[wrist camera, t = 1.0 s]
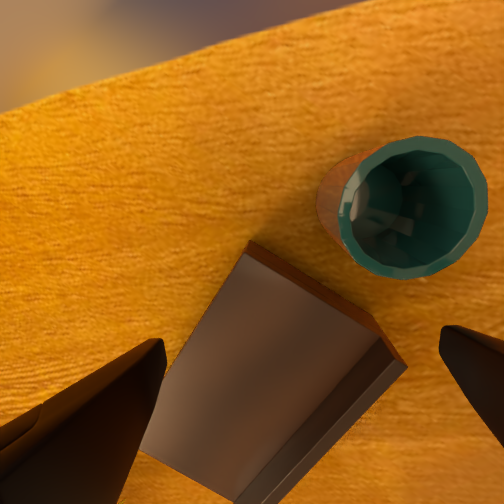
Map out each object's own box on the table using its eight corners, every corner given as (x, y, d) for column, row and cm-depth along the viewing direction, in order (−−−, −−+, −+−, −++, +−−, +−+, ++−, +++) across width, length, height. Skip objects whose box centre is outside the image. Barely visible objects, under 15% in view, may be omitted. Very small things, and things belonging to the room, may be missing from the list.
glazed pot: (426, 186, 20) (522, 189, 12) (368, 259, 21) (420, 303, 14) (351, 136, 19) (400, 105, 12) (298, 215, 21) (311, 233, 13)
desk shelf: (372, 315, 22) (408, 367, 16) (247, 462, 28) (238, 545, 21) (250, 239, 22) (238, 262, 16) (145, 404, 27) (105, 471, 21)
